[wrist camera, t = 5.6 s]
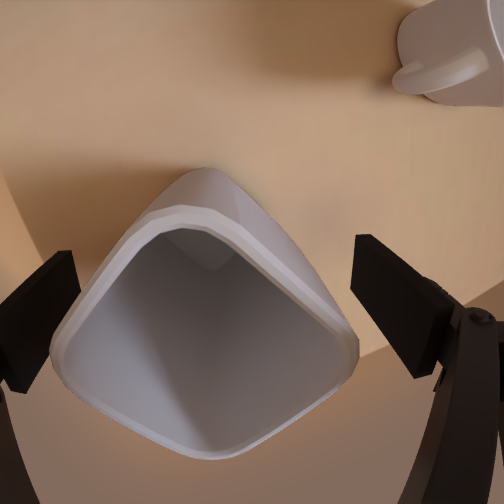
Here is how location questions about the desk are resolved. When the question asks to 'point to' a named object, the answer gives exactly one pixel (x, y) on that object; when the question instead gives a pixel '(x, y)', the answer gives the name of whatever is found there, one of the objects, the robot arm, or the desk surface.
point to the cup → (204, 325)
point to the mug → (453, 53)
